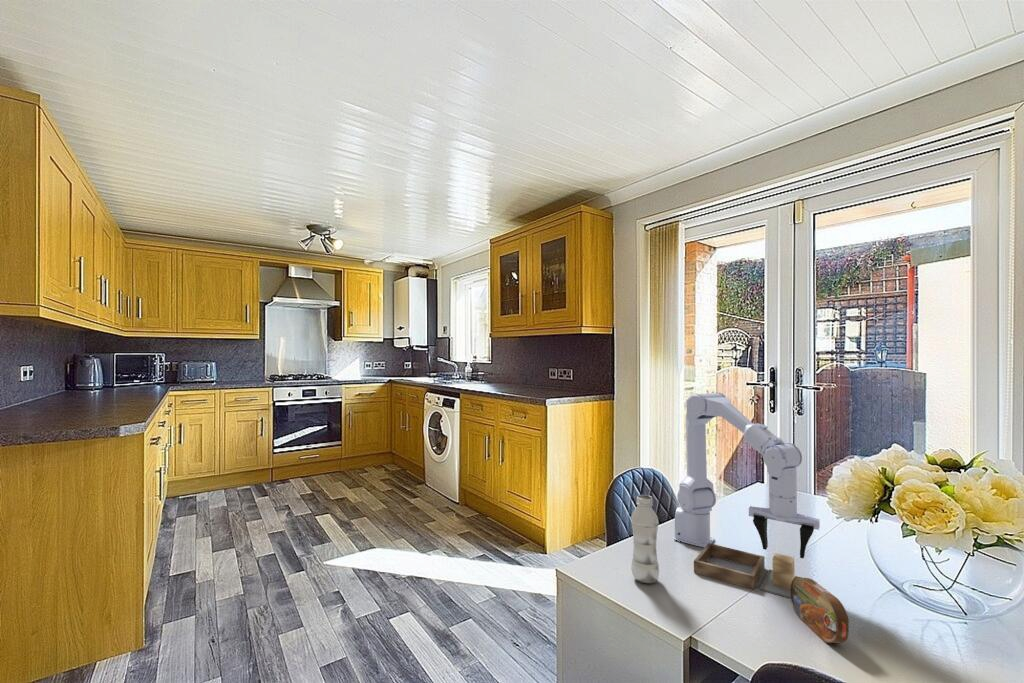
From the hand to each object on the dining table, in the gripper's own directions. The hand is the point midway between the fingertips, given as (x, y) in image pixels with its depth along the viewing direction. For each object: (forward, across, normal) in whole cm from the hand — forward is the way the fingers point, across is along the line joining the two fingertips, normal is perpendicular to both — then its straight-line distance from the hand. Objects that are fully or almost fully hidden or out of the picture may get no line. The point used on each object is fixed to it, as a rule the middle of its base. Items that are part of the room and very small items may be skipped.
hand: (783, 552), depth 110 cm
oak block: (+7, 0, 0) cm, 7 cm away
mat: (+8, 0, 0) cm, 8 cm away
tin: (+8, +8, -16) cm, 20 cm away
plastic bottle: (+8, -27, -18) cm, 33 cm away
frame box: (+8, -12, 0) cm, 14 cm away
